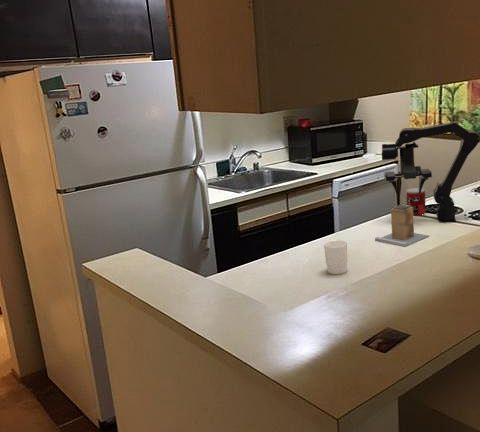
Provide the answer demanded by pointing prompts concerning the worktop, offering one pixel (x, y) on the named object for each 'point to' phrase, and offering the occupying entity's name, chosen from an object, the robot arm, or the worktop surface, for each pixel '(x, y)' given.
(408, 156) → the robot arm
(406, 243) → the grey flat slab
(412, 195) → the canned food
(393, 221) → the wooden tall block
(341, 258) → the white cup
